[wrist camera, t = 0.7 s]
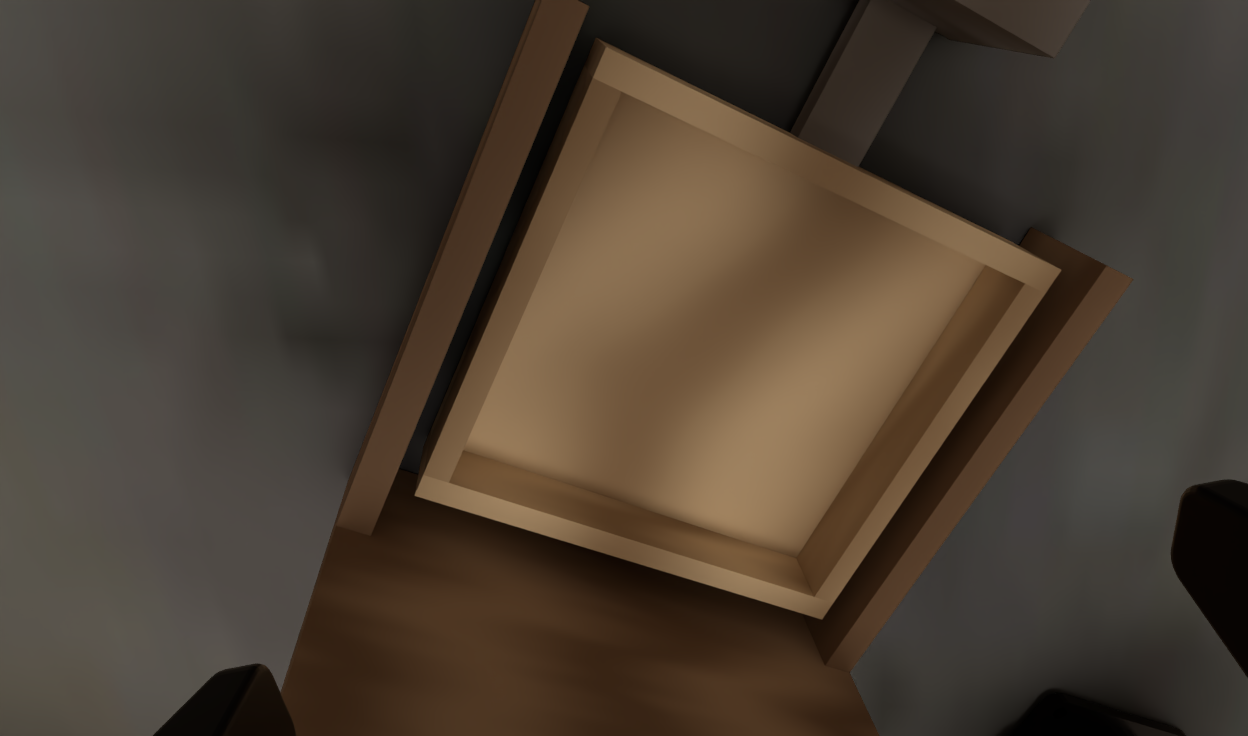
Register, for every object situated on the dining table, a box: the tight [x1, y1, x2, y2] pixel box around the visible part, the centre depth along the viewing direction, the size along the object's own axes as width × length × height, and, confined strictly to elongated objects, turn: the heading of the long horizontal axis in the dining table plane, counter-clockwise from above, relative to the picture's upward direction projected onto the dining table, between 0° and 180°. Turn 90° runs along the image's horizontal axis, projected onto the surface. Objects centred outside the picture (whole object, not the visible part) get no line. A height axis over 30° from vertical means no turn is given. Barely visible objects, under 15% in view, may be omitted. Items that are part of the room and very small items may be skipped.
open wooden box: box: [281, 0, 1133, 736], centre depth 18 cm, size 14×13×9 cm
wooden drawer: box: [414, 0, 1091, 619], centre depth 18 cm, size 11×17×4 cm, turn 155°
